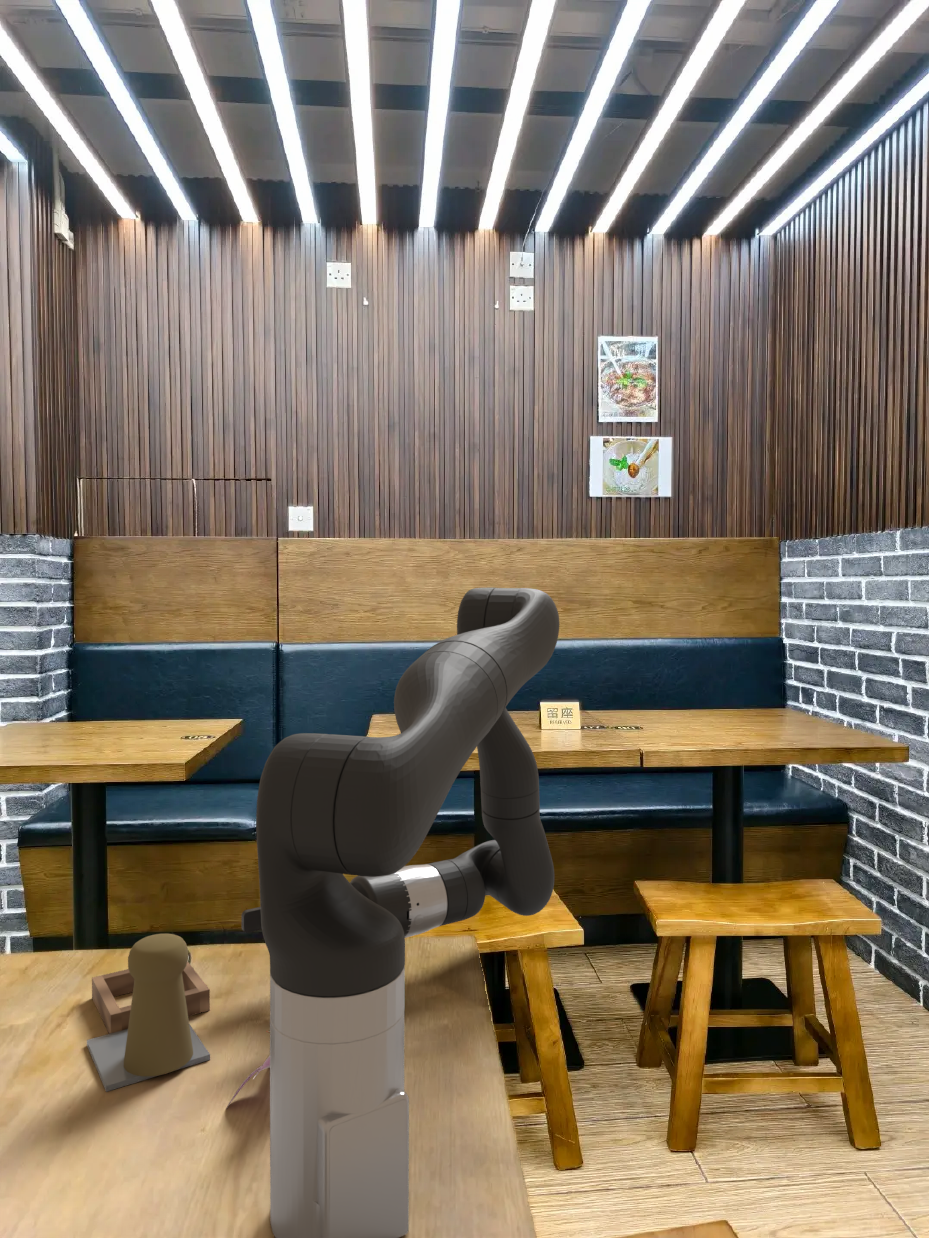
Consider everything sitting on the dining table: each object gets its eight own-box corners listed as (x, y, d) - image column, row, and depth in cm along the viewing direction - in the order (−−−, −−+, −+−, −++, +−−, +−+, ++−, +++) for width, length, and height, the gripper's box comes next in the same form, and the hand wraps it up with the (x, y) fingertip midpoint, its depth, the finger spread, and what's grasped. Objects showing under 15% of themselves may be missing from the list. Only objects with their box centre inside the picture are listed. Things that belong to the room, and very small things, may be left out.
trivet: (210, 1059, 77) (210, 1054, 77) (106, 1091, 72) (106, 1085, 72) (182, 1018, 84) (182, 1013, 84) (86, 1045, 79) (86, 1039, 79)
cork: (204, 1041, 79) (203, 927, 79) (175, 1078, 73) (175, 954, 73) (143, 1038, 80) (142, 924, 79) (110, 1073, 74) (109, 951, 73)
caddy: (209, 1010, 86) (209, 989, 86) (110, 1037, 81) (110, 1014, 81) (183, 975, 94) (183, 955, 94) (92, 997, 89) (91, 977, 88)
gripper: (367, 853, 99) (233, 879, 90) (430, 888, 87) (283, 922, 78) (367, 916, 99) (233, 948, 90) (430, 959, 87) (283, 1001, 78)
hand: (257, 935), depth 84 cm, fingers open, 8 cm apart
